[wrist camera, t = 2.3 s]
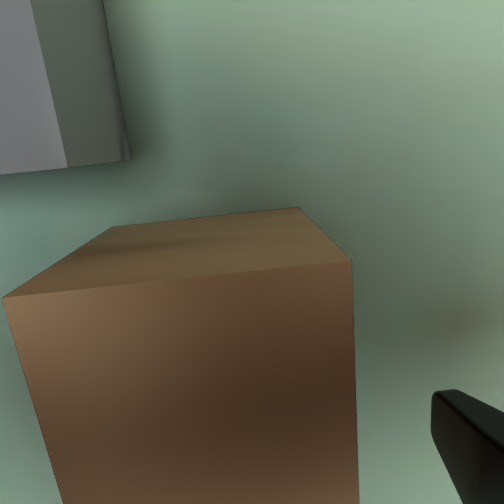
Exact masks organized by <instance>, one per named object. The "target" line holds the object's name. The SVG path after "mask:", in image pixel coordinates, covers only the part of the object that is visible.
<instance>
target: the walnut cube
mask: <svg viewBox="0 0 504 504" xmlns="http://www.w3.org/2000/svg"><path fill="white" fill-rule="evenodd" d="M2 301H3V305H4V308H5V311H6V315H7V318H8V321H9V325H10V328H11V331H12V335H13V338H14V341H15V345H16V348H17V351H18V355H19V358H20V361H21V365H22V368H23V371H24V375H25V378H26V381H27V385H28V388H29V391H30V395H31V398H32V401H33V405H34V408H35V411H36V415H37V418H38V421H39V425H40V428H41V431H42V435H43V438H44V441H45V445H46V448H47V451H48V455H49V458H50V461H51V465H52V468H53V471H54V475H55V478H56V481H57V485H58V488H59V491H60V495H61V498H62V501H63V504H359V476H358V444H357V412H356V379H355V347H354V315H353V283H352V260H351V259H350V258H349V257H348V256H347V255H346V254H345V253H344V252H343V251H342V250H341V249H340V248H339V247H338V246H337V245H336V244H335V243H334V242H333V241H332V240H331V239H330V238H329V237H328V236H327V235H326V234H325V233H324V232H323V231H322V230H321V229H320V228H319V227H318V226H317V225H316V224H315V223H314V222H313V221H312V220H311V219H310V218H309V217H308V216H307V215H306V214H305V213H304V212H303V211H302V210H301V209H300V208H299V207H294V208H285V209H275V210H266V211H256V212H247V213H238V214H228V215H219V216H209V217H200V218H191V219H181V220H172V221H163V222H153V223H144V224H134V225H125V226H116V227H111V228H109V229H108V230H106V231H105V232H103V233H102V234H100V235H98V236H97V237H95V238H94V239H92V240H91V241H89V242H88V243H86V244H84V245H83V246H81V247H80V248H78V249H77V250H75V251H74V252H72V253H70V254H69V255H67V256H66V257H64V258H63V259H61V260H60V261H58V262H56V263H55V264H53V265H52V266H50V267H49V268H47V269H46V270H44V271H42V272H41V273H39V274H38V275H36V276H35V277H33V278H32V279H30V280H29V281H27V282H25V283H24V284H22V285H21V286H19V287H18V288H16V289H15V290H13V291H11V292H10V293H8V294H7V295H5V296H4V297H2Z"/></svg>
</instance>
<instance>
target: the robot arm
mask: <svg viewBox="0 0 504 504" xmlns="http://www.w3.org/2000/svg"><path fill="white" fill-rule="evenodd" d="M431 434H432V438H433V441H434V443H435V445H436V447H437V450H438V452H439V454H440V456H441V458H442V460H443V462H444V464H445V467H446V469H447V471H448V473H449V475H450V477H451V479H452V482H453V484H454V486H455V488H456V490H457V492H458V494H459V496H460V499H461V501H462V503H463V504H504V412H502V411H500V410H498V409H496V408H494V407H492V406H490V405H488V404H486V403H484V402H482V401H480V400H478V399H476V398H474V397H471V396H469V395H467V394H465V393H463V392H461V391H459V390H456V389H450V390H441V391H436V392H434V393H433V395H432V403H431Z"/></svg>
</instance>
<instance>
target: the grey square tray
mask: <svg viewBox="0 0 504 504" xmlns="http://www.w3.org/2000/svg"><path fill="white" fill-rule="evenodd" d="M124 160H131V157H130V151H129V146H128V140H127V135H126V129H125V124H124V118H123V113H122V107H121V102H120V96H119V91H118V85H117V80H116V74H115V69H114V63H113V58H112V52H111V47H110V41H109V36H108V30H107V24H106V19H105V13H104V8H103V2H102V0H0V175H2V174H12V173H22V172H31V171H41V170H50V169H60V168H69V167H77V166H85V165H93V164H100V163H108V162H116V161H124Z"/></svg>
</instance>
